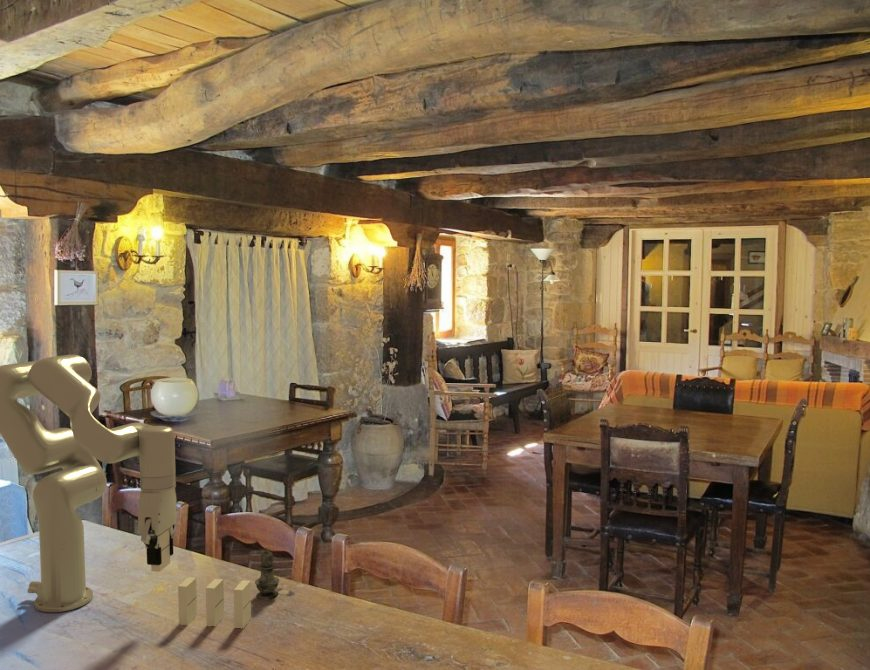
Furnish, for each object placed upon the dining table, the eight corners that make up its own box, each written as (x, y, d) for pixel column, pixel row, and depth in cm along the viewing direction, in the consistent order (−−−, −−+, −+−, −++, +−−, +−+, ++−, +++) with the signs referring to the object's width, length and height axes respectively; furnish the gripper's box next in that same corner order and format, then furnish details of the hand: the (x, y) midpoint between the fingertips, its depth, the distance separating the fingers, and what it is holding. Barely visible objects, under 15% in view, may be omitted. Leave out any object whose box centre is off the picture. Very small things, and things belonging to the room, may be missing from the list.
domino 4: (234, 628, 166) (233, 589, 165) (242, 618, 171) (242, 580, 170) (243, 629, 166) (242, 590, 165) (251, 618, 171) (250, 580, 170)
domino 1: (151, 571, 167) (150, 532, 166) (161, 562, 172) (160, 524, 171) (159, 571, 167) (158, 532, 166) (170, 563, 172) (169, 525, 171)
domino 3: (206, 626, 167) (205, 587, 166) (215, 616, 172) (214, 578, 171) (215, 627, 166) (214, 588, 166) (224, 616, 171) (223, 579, 171)
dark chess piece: (273, 601, 180) (273, 553, 179) (250, 599, 181) (250, 551, 180) (283, 591, 185) (282, 544, 184) (261, 589, 187) (260, 542, 186)
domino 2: (178, 624, 167) (178, 586, 167) (188, 614, 172) (188, 577, 172) (187, 625, 167) (186, 586, 166) (197, 615, 172) (196, 577, 171)
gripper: (160, 471, 177) (162, 545, 178) (122, 491, 160) (125, 573, 161) (190, 472, 176) (192, 546, 177) (155, 493, 159) (158, 575, 160)
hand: (160, 558), depth 169 cm, fingers closed on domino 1, 4 cm apart
